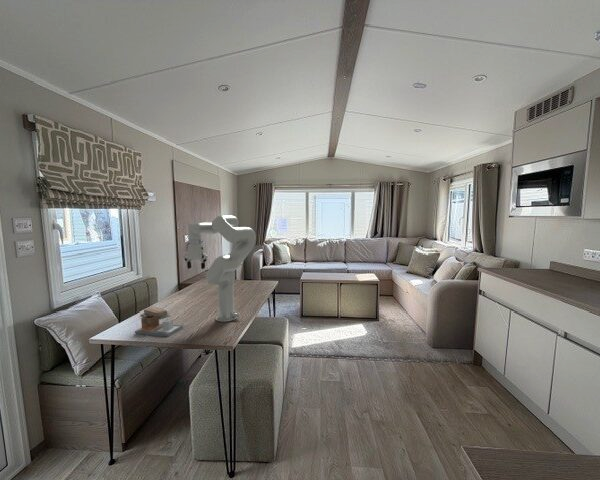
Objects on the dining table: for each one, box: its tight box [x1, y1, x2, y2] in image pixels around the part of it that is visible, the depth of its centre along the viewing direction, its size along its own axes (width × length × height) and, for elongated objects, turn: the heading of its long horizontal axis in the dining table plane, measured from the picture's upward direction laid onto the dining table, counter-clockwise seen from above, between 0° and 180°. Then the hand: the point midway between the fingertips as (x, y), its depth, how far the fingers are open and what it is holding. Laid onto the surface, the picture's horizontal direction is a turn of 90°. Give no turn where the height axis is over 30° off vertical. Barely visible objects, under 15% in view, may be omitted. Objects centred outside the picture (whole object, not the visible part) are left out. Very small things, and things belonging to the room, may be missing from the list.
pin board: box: [134, 318, 183, 337], centre depth 159 cm, size 20×12×6 cm, turn 78°
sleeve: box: [140, 315, 160, 330], centre depth 160 cm, size 6×6×6 cm
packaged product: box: [140, 306, 171, 320], centre depth 185 cm, size 18×5×10 cm
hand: (196, 268), depth 191 cm, fingers open, 9 cm apart
